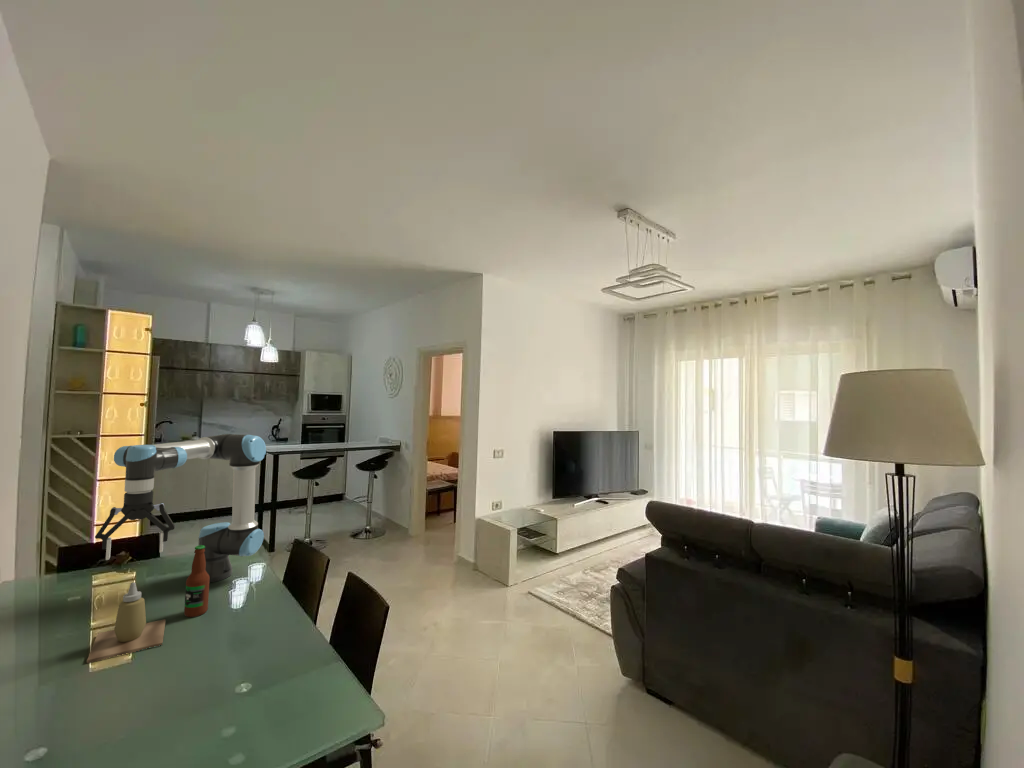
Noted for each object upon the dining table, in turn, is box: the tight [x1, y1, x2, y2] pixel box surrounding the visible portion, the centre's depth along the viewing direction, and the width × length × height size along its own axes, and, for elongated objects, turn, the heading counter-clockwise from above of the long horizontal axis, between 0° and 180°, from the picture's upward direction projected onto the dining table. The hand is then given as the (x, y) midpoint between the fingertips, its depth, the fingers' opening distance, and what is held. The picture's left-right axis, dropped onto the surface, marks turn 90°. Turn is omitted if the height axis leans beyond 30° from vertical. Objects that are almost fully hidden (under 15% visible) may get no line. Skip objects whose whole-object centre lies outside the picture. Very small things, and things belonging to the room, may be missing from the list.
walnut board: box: [86, 619, 166, 664], centre depth 146 cm, size 18×18×1 cm
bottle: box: [183, 544, 210, 618], centre depth 165 cm, size 7×7×25 cm
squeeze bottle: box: [113, 582, 147, 642], centre depth 146 cm, size 8×8×18 cm
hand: (135, 555), depth 147 cm, fingers open, 13 cm apart
